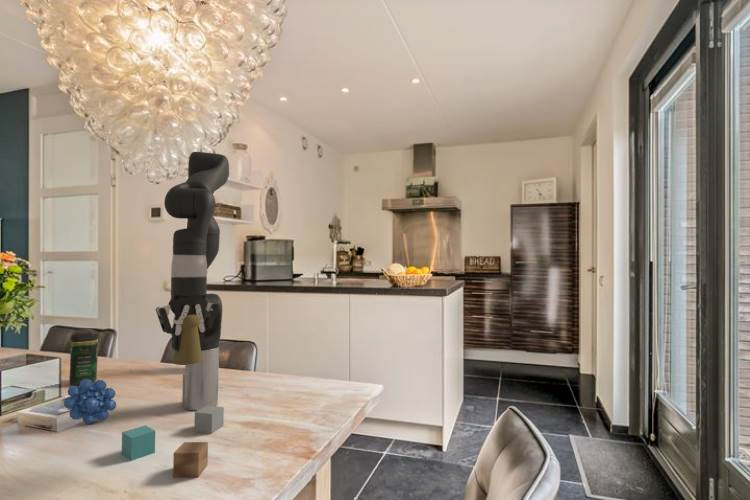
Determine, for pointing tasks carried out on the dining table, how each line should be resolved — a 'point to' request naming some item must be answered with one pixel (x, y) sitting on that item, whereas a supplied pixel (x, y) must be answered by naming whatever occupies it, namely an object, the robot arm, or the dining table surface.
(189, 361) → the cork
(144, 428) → the deep teal block
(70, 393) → the blue knobby flower
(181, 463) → the walnut block
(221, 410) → the slate-grey block
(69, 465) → the dining table surface
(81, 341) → the coffee jar
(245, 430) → the dining table surface
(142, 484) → the dining table surface
